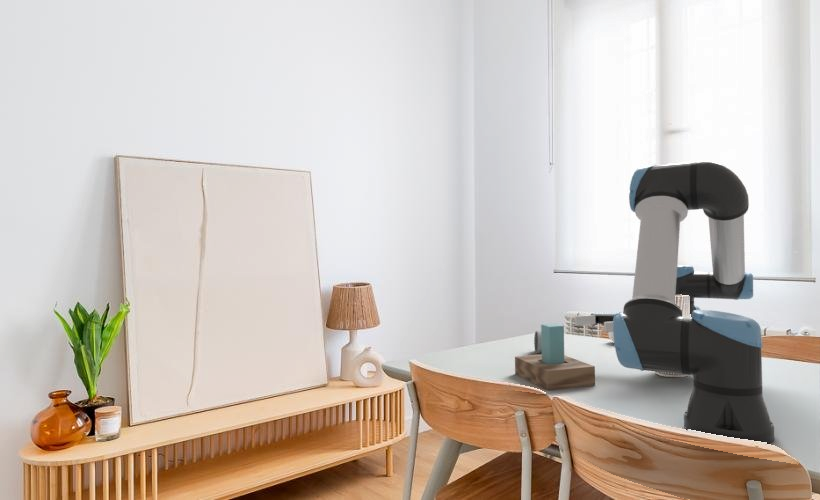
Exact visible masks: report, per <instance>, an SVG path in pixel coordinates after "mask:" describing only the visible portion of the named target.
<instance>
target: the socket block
mask: <svg viewBox="0 0 820 500" xmlns="http://www.w3.org/2000/svg"><path fill="white" fill-rule="evenodd" d="M514 374H515V375H516V376H519V377H521V378H522V379H524V380H527V381H528V382H530V383H532V384H534V385H536V386H538V387H540V388H541V389H544V390H546V391H556V390H564V389H573V388H582V387H583V388H584V387H592V386H596V367H595V365H592V364H590V363H587V362H584V361H582V360H579V359H575V358H573V357H570V356H568V355H565V354H564V363H563V364H552V365H548V364H545V363H543V362H542V354H529V355H517V356H514Z"/></svg>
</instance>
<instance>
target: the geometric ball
mask: <svg viewBox="0 0 820 500" xmlns="http://www.w3.org/2000/svg"><path fill="white" fill-rule="evenodd" d="M607 334H608V337H609V340H611V341H612V342H613V343H614V335H613V332H607Z"/></svg>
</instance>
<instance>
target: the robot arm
mask: <svg viewBox="0 0 820 500" xmlns="http://www.w3.org/2000/svg"><path fill="white" fill-rule="evenodd" d="M747 191H748V190H747V189H746V186H745V185H744V183H743V181H742V180H741V179H740V178H739V176H738V175H737V174H736V173H735V172H734V171H733V170H731V169H730V168H728V167H726V166H725V165H723V164H721V163H719V162H715V161H712V160H711V161H710V160H697V161H688V162H675V163H674V162H673V163H662V164H655V163H654V164H652V165H646V166H645V165H644V166H642V167H641V166H640V167H639V168H637V169H636V170H635V171H634V172H633V175H632V176H631V180H630V183H629V193H628V195H629V196H628V198H629V199H628V201H629V207H630V210H631V211H632V212H633V213H635V216H636V217H637V219H638V220H639V221H640V222H639V223H640V225H639V232H638V233H639V234H638V243H637V249H636V250H637V251H636V260H635V261H636V262H635V271H634V279H633V288H632V296H631V297H632V298H631V299H629V300H628V301H626V302H625V303H624V305H623V311H622V312H617V313H611V314H610V313H609V314H608V313H591V314H588V315H574V326H576V327H577V326H591V325H592V326H593V327H595V326H596V324H598V325H599V324H600V325H603V333H607V334H608V332H613V335H614V342H613V343H614V349H615V354H616V357H617V361H618V362H619V364H620V365H621V366H622V367H624V368H627V369H634V370H639V371H641V372H644V371H646V372H647V371H648V372H659V373H669V374H676V375H677V374H678V375H687V376H688V375H689V376H692V380H693V381H692V383H693V385H692V386H693V387H692V392H691V395H690V398H689V401H688V405H687V409H686V410H685V412H684V414H683V427H684V428H685V427H686V428H685V430H687V429H691V430H696V431H701V432H705V433H711V434H716V435H723V436H727V437H734V438H740V439H748V440H754V441H761V442H767V443H768V444H770V442H771V441H772V442H774V440H775V426H774V424H773V422H772V420H771V418H770V415H769V412H768V407H767V405H766V403H765V400H764V396H763V393H764V392H763V362H762V359H763V358H762V348H764V347H763V346H764V344H763V341H762V331H761V330H762V328H761V325H760V324H759V323H758V321H756V320H754V319H753V318H750V317H748V316H744V315H740V314H736V313H731V312H725V311H719V310H712V309H711V310H709V309H707V310H706V309H701V308H700V307H699V306H697V305H695V299H719V300H737V301H738V300H751V299H752V298H753V297H754V275H753V273H751V272H746V271H745V270H746V266H745V264H746V263H745V259H746V258H745V256H746V255H745V218H744V217H745V214H746V213H747V212H748V210H749V205H750V204H749V194H748V192H747ZM691 210H693V211H695V210H703V211H702V212H703V214H704V215H705V217H707V218H708V226H709V227H708V228H709V243H710V251H711V252H710V253H711V262H712V267H711V268H712V271H711V272H707V271H695V270H694V266H693V265H678V263H679V262H678V259H679V246H680V245H679V244H680V228H681V222H683V221H684V220H685V219H686V218H687V216H688V213H689V211H691ZM676 294H682V295H689V296H690V314H691V317H682V310H681V309H680V307H679V306H677V305H676V304H675V295H676ZM772 442H771V443H772Z"/></svg>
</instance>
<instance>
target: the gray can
mask: <svg viewBox="0 0 820 500" xmlns="http://www.w3.org/2000/svg"><path fill="white" fill-rule="evenodd" d="M533 344H534V346H533V347H534V352H535V354H536V355H540V354H542V341H541V330H535V331H534V340H533Z"/></svg>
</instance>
